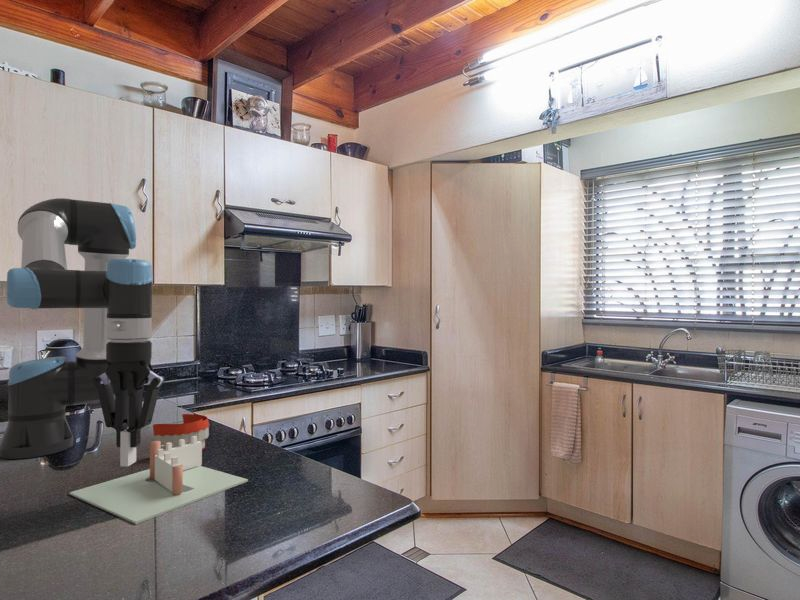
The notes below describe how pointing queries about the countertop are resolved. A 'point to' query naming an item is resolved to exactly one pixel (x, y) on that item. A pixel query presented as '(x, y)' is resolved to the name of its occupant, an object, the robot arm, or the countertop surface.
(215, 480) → the card
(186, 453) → the fixed fence
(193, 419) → the toy
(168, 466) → the swing panel
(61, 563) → the countertop surface
